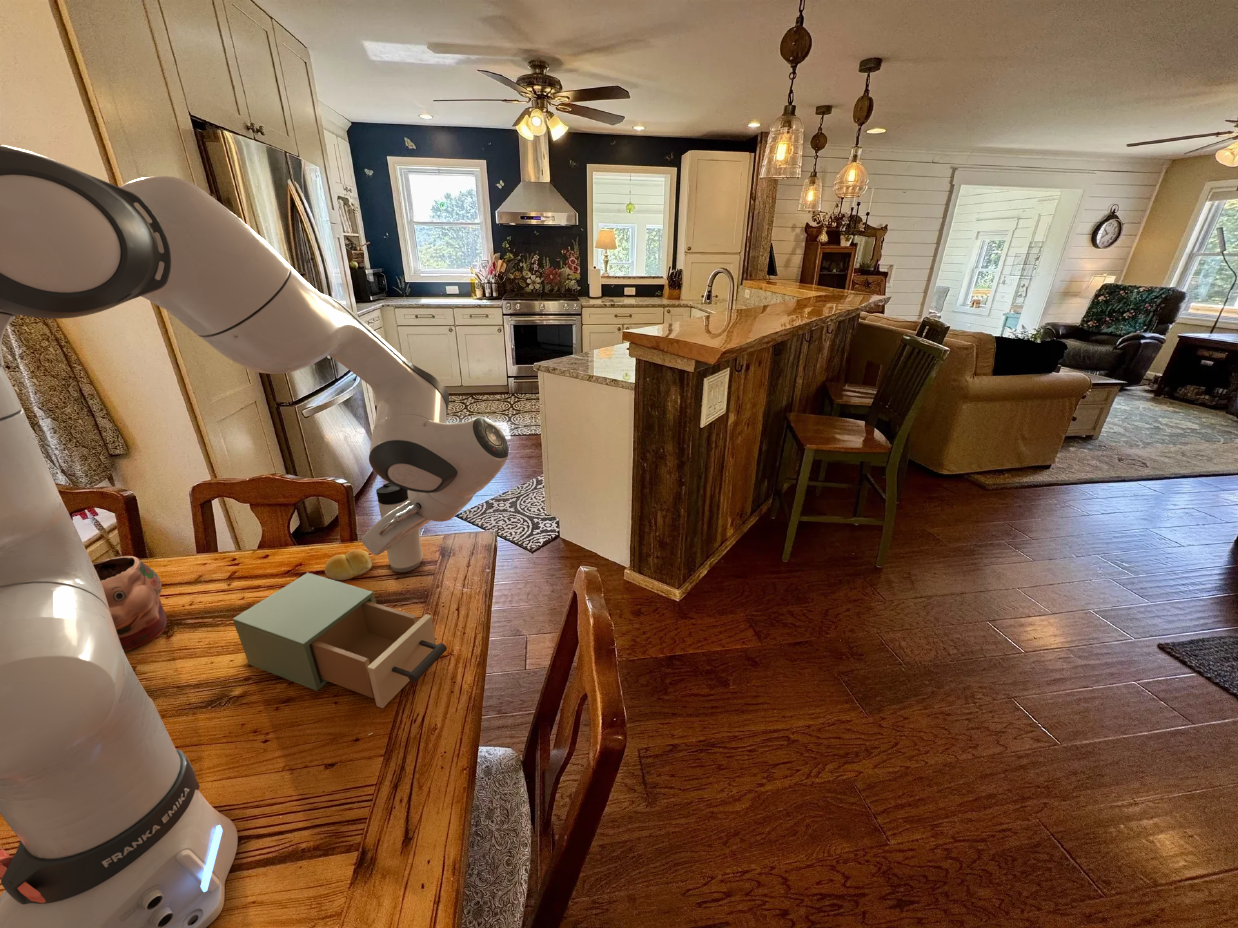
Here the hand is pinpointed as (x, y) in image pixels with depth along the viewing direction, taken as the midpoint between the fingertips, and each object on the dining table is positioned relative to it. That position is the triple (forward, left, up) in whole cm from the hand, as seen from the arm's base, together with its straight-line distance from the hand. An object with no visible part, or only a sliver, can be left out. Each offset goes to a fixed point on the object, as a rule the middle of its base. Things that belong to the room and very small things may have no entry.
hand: (399, 534), depth 86 cm
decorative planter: (-21, +46, -19) cm, 54 cm away
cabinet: (-12, +11, -19) cm, 25 cm away
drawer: (-12, -5, -18) cm, 22 cm away
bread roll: (+8, +25, -19) cm, 32 cm away
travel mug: (+14, +15, -19) cm, 28 cm away
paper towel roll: (0, -1, -5) cm, 5 cm away
